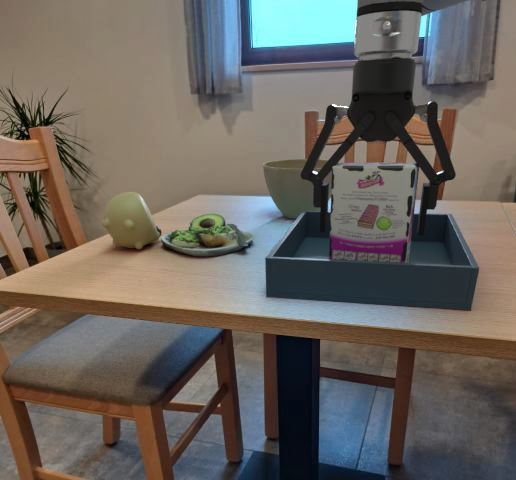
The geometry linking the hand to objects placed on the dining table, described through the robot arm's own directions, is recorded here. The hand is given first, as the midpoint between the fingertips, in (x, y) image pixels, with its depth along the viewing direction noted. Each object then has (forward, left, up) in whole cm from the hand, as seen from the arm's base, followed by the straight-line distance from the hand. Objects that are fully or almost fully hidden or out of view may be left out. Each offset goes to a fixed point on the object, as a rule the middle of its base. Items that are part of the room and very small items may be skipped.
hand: (370, 231), depth 66 cm
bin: (0, -8, -8) cm, 11 cm away
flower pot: (+18, -46, -8) cm, 50 cm away
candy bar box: (0, 0, -7) cm, 7 cm away
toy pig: (+46, -14, -8) cm, 49 cm away
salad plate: (+32, -18, -8) cm, 38 cm away
